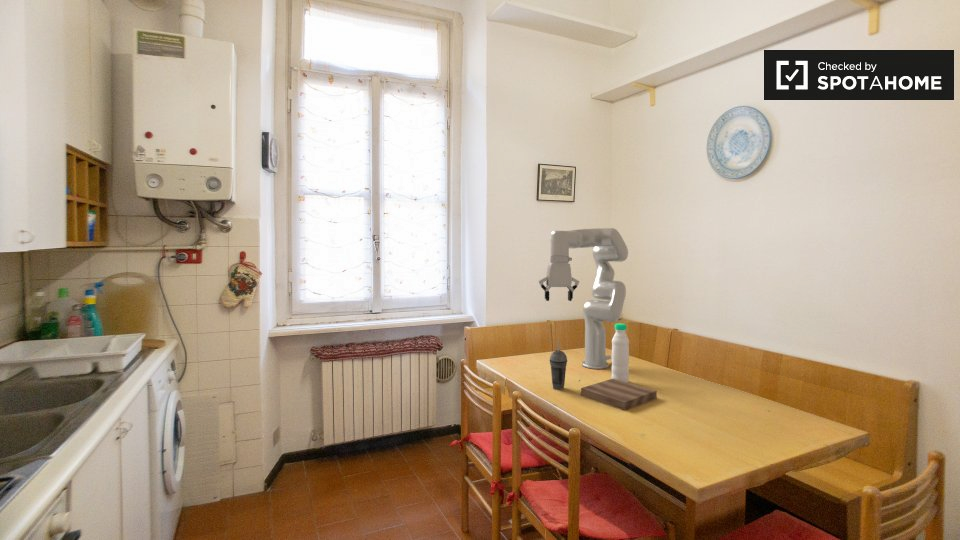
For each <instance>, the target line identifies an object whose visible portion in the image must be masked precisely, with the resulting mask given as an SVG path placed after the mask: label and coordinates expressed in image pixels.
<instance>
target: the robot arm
mask: <svg viewBox="0 0 960 540" xmlns="http://www.w3.org/2000/svg"><path fill="white" fill-rule="evenodd" d="M549 241H550V263H548V264H547V268H546V269H547V270H546V277H543V278H541V279H539V280H538V283H539V285H540V288H541V289H543V291H544V300H545V301H546V302H549V301H550V289H551V288H567V289H568V291H567V300H568V301H569V302H572V300H573V298H574V296H573V295H574V291H575V290H576V289H577V288H578V285H579V283H580V280H578V279H576V278H574V277H572V267H571V264H570V262H571V261H572V260H573V258H572V257H570V256H569V250H570V249H579V248H580V249H583V248H584V249H587V248H592V257H593V259H594V262H595V266H596V273H595V276H594V279H593V280H594V281H593V285H592V288H591V295H592V297H593V298H594V299H590V300H587V301H586V302H584V304H583V307H582V310H583V311H582V312H583V313H582V314H583V317H584V327H585V328H584V330H585V333H584V352H585V353H584V360H583V361H581V366H582V367H584V368H586V369H593V370H594V369H595V370H602V369H607V368H609V365H610V364H609V362H607V361H608V360H612V355H609V354H608V355H607V353H606V352H607V350H606V343H607V339H606V338H607V337H606V336H607V334H606V331H607V329H606V326H605V325H604V322H606V323H616V322H618V321H619V320H620V317H621V315H622V310H623V308H624V303H625V300H626V294H627V290H626V289H627V288H626V284H625V283H624V282H623V281H620V280H614V278H615V270H614V268H613V266H612V265H611V263H610V262H614V263H616V262H617V263H618V262H621V263H622V262H624V261H627V259H628V256H629V249H628V246H627V244H626V242H625V240H624V239H623V237H622V235H621V233H620V232H619V231H618V230H617V229H616V228H613V227H610V228H607V227H603V228H602V227H601V228H599V227H598V228H583V229H581V228H580V229H574V230H552V232H551V234H550V239H549ZM544 282H545V284H546V285H545V284H544ZM572 282H574V284H573V285H572Z"/></svg>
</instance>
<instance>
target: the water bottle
mask: <svg viewBox="0 0 960 540" xmlns="http://www.w3.org/2000/svg"><path fill="white" fill-rule="evenodd" d="M614 330H615V333H614V335H613V337H612V339H611V345H612V346H611V378H610V379H613V378H614V379H617V380H621V381H624V382H628V383H630V381H629V380H630V376H629V371H630V370H629V368H630V367H629V364H630V348H629V347H630V340H629V337H628V335H627V334H626V331H627V324H626V323H621V322H620V323H614Z"/></svg>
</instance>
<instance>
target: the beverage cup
mask: <svg viewBox="0 0 960 540" xmlns="http://www.w3.org/2000/svg"><path fill="white" fill-rule="evenodd" d="M549 364H550V375H551V385H552V388H553V390H557V391H558V390H563V389H564V388H565V382H566V369H567V366H568V365H567V364H568V356H567V355H566V353H565V352H564V351H563V350H560V340H557V350H553V352H551V354H550V356H549Z"/></svg>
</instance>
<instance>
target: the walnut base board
mask: <svg viewBox="0 0 960 540" xmlns="http://www.w3.org/2000/svg"><path fill="white" fill-rule="evenodd" d="M580 397H584V398H587V399H589V400H591V401H592V400H593V401H595V402H598V403H601V404H604V405H607V406H610V407H613V408H615V409H618V410H622V411H627V410H629V409H632V408H636V407H637V406H641V405H643V404H646V403H648V402H651V401H654V400H657V397H658V391H657V390H655V389H652V388H648V387H645V386H641V385H637V384H636V383H635V384H634V383H632V382H631V383H630V382H624V381H621V380H617V379H614V378H613V379H611V378H610V379H607V380H603V381H601V382H598V383H597V382H596V383H593V384H589V385H587V386H584V387H581V388H580Z"/></svg>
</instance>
